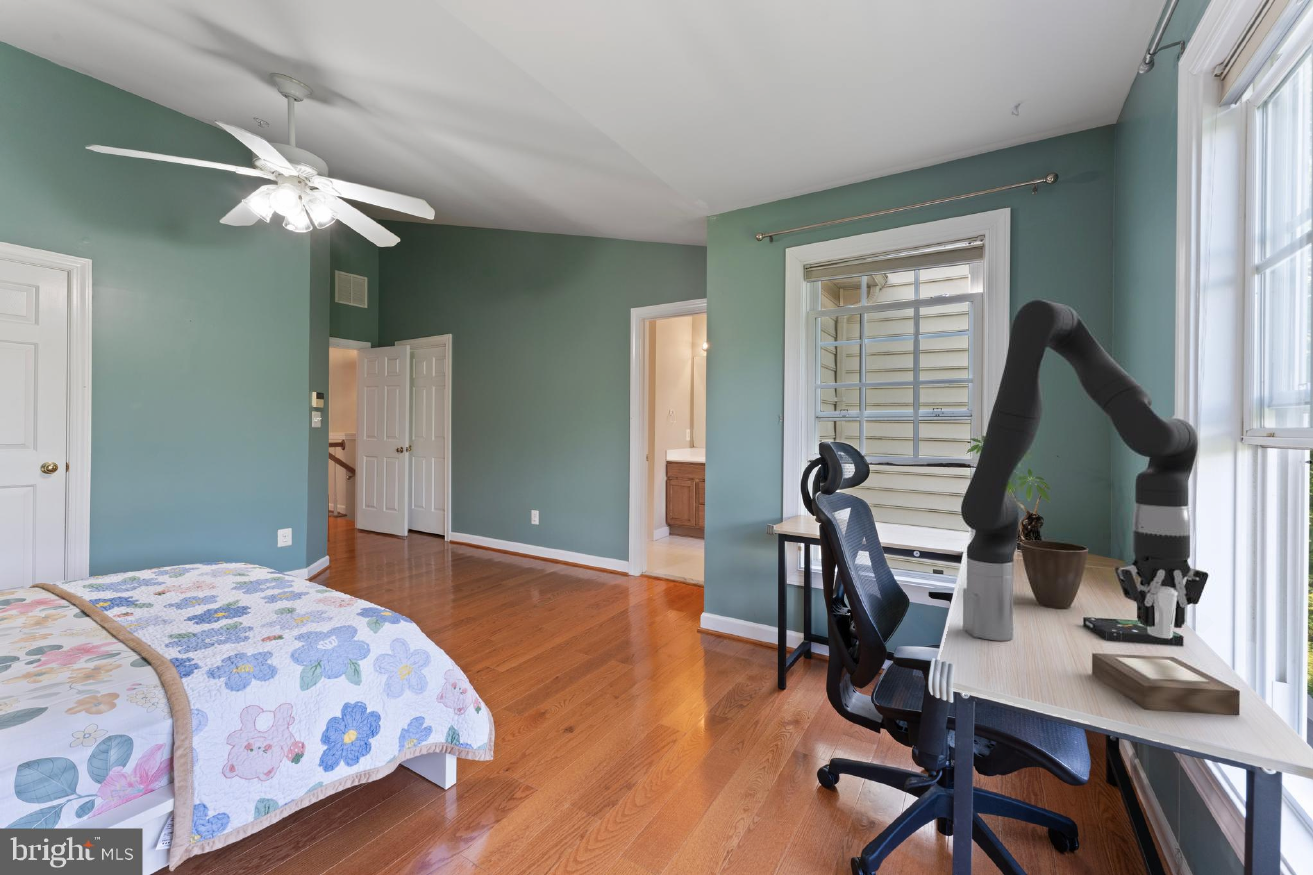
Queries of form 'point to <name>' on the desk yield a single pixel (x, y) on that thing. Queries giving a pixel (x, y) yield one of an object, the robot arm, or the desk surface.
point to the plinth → (1165, 684)
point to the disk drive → (1127, 631)
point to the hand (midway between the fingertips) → (1160, 625)
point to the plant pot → (1054, 571)
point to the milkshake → (1164, 612)
